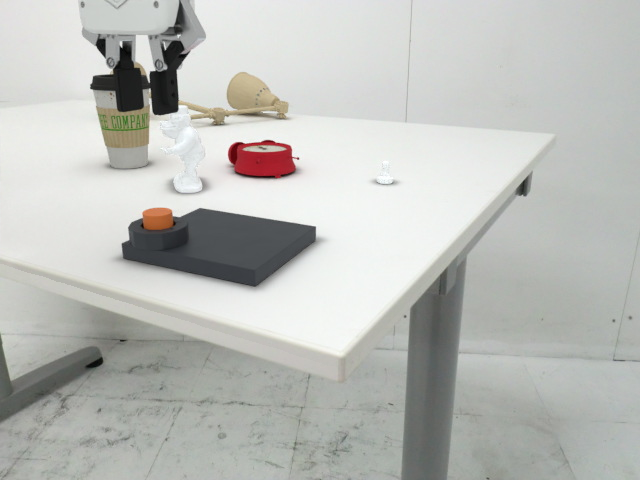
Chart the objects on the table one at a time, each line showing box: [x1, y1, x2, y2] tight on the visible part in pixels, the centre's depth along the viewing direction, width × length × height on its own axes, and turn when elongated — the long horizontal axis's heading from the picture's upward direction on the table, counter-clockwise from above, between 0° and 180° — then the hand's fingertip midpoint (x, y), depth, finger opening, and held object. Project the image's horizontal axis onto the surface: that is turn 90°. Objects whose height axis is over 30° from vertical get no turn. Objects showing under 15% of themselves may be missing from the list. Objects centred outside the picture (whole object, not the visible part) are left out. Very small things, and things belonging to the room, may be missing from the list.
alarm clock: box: [227, 139, 300, 179], centre depth 98 cm, size 10×6×15 cm
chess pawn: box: [376, 160, 394, 185], centre depth 90 cm, size 3×3×4 cm
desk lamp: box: [109, 60, 290, 126], centre depth 150 cm, size 15×35×40 cm
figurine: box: [158, 105, 206, 194], centre depth 85 cm, size 9×7×12 cm
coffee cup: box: [89, 73, 151, 170], centre depth 97 cm, size 10×10×15 cm
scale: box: [121, 207, 317, 287], centre depth 62 cm, size 16×14×4 cm
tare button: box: [141, 207, 174, 230], centre depth 59 cm, size 3×3×2 cm
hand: (148, 110), depth 55 cm, fingers open, 3 cm apart
